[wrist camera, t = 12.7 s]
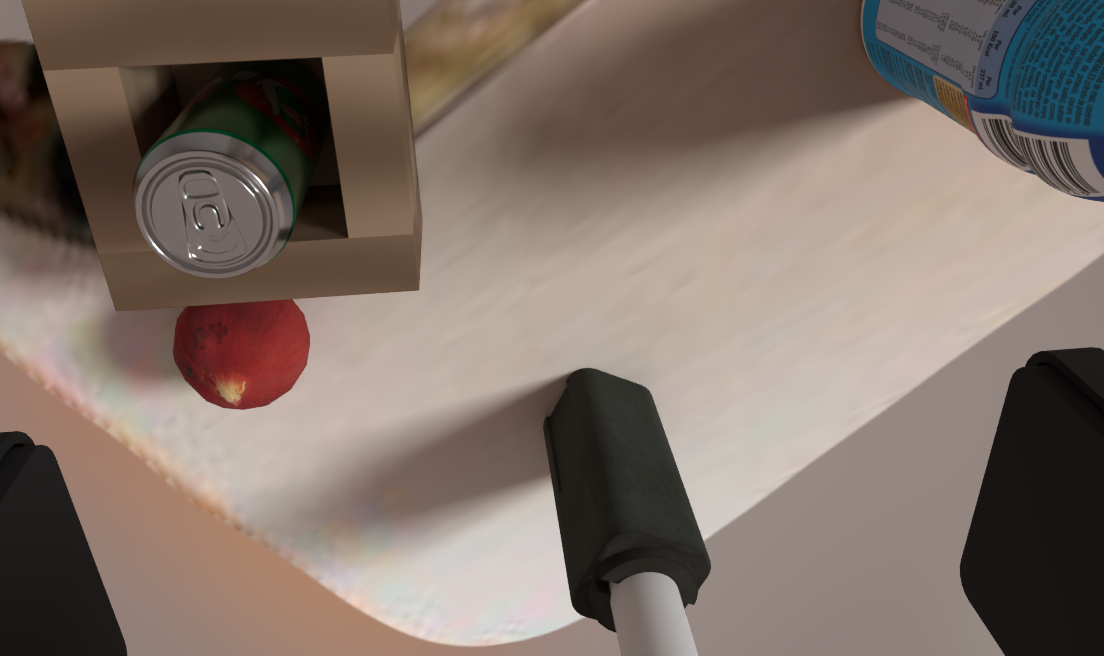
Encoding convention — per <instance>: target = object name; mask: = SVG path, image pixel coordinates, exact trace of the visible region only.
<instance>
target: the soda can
mask: <svg viewBox="0 0 1104 656" xmlns="http://www.w3.org/2000/svg"><path fill="white" fill-rule="evenodd" d="M329 126H330V109H329V103H328V100H327V97H326V94H325V92H324V90H323V88H322V86H321V85H320V83H319V82H318V80H317V79H316V78H315V77H314V75H313V74H312V73H311V72H310V71H309V70H308V69H306V68H305V67H304V66H303V65H302V64H300V63H298V62H297V61H295V60H294V59H274V60H253V61H233V62H226V63H225V64H223V65H222V66H221V67H220V68H219V69H218V70H217V71H216V73H215V74H214V75H213V76H212V77H211V78H210V80H209V81H208V82H207V83H206V84H205V85H204V86H203V88H202V89H201V90H200V91H199V92H198V93H197V95H196V96H195V97H194V98H193V99H192V100H191V102H190V103H189V104H188V105H187V106H186V107H185V108H184V110H183V111H182V112H181V113H180V114H179V115H178V117H177V118H176V119H175V120H174V121H173V122H172V123H171V125H170V126H169V127H168V128H167V129H166V130H165V132H164V133H163V134H162V135H161V136H160V137H159V139H158V140H157V141H156V142H155V143H154V144H153V145H152V147H151V148H150V149H149V150H148V151H147V153H146V154H145V155H144V157H143V158H142V159H141V161H140V163H139V165H138V167H137V169H136V173H135V176H134V180H133V189H132V194H133V204H134V208H135V212H136V218H137V222H138V225H139V228H140V230H141V233H142V235H143V237H144V238H145V240H146V241H147V243H148V245H149V246H150V247H151V248H152V249H153V251H154V252H155V253H156V254H157V255H158V256H159V257H161V258H162V259H163V260H164V261H165V262H167V263H168V264H170V265H171V266H173V267H174V268H176V269H178V270H180V271H182V272H185V273H187V274H190V275H193V276H197V277H202V278H209V279H225V278H231V277H236V276H239V275H242V274H245V273H247V272H249V271H252V270H255V269H258V268H260V267H262V266H263V265H265V264H267V263H269V262H270V261H271V260H272V259H274V258H275V257H276V256H277V255H278V254H279V253H280V252H281V251H282V250H283V249H284V247H285V246H286V244H287V242H288V241H289V239H290V237H291V234H292V232H293V229H294V226H295V224H296V221H297V218H298V215H299V212H300V210H301V207H302V204H303V201H304V199H305V196H306V193H307V190H308V187H309V185H310V182H311V179H312V176H313V174H314V171H315V168H316V165H317V162H318V160H319V157H320V154H321V151H322V149H323V146H324V143H325V140H326V137H327V135H328V132H329Z"/></svg>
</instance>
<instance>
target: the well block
mask: <svg viewBox="0 0 1104 656" xmlns="http://www.w3.org/2000/svg"><path fill="white" fill-rule="evenodd" d="M22 3H23V7H24V10H25V14H26V17H27V20H28V23H29V27H30V30H31V33H32V37H33V40H34V43H35V47H36V50H37V53H38V56H39V60H40V63H41V66H42V70H43V73H44V76H45V80H46V83H47V86H48V89H49V93H50V96H51V99H52V103H53V106H54V109H55V113H56V116H57V119H58V123H59V126H60V129H61V132H62V136H63V139H64V142H65V146H66V149H67V152H68V156H69V159H70V162H71V165H72V169H73V172H74V175H75V179H76V182H77V185H78V189H79V192H80V195H81V198H82V202H83V205H84V208H85V212H86V215H87V218H88V222H89V225H90V228H91V231H92V235H93V238H94V241H95V245H96V248H97V251H98V255H99V258H100V261H101V264H102V268H103V271H104V274H105V278H106V281H107V284H108V288H109V291H110V294H111V297H112V301H113V304H114V307H115V311H126V310H141V309H155V308H170V307H184V306H199V305H213V304H228V303H242V302H257V301H271V300H286V299H300V298H315V297H329V296H344V295H358V294H373V293H387V292H402V291H416V290H419V282H420V262H421V241H422V213H421V204H420V194H419V184H418V175H417V165H416V155H415V146H414V136H413V126H412V117H411V107H410V97H409V88H408V78H407V68H406V59H405V49H404V39H403V30H402V20H401V11H400V1H399V0H22ZM274 59H294V60H295V61H297V62H298V63H300V64H302V65H303V66H304V67H305V68H306V69H308V70H309V71H310V72H311V73H312V74H313V75H314V77H315V78H316V79H317V80H318V82H319V83H320V85H321V86H322V88H323V90H324V92H325V94H326V97H327V100H328V103H329V109H330V126H329V132H328V135H327V137H326V140H325V143H324V146H323V149H322V151H321V154H320V157H319V160H318V162H317V165H316V168H315V171H314V174H313V176H312V179H311V182H310V185H309V187H308V190H307V193H306V196H305V199H304V201H303V204H302V207H301V210H300V212H299V215H298V218H297V221H296V224H295V226H294V229H293V232H292V234H291V237H290V239H289V241H288V242H287V244H286V246H285V247H284V249H283V250H282V251H281V252H280V253H279V254H278V255H277V256H276V257H275V258H274V259H272V260H271V261H270V262H269V263H267V264H265V265H263V266H262V267H260V268H258V269H255V270H252V271H249V272H247V273H245V274H242V275H239V276H236V277H231V278H225V279H209V278H202V277H197V276H193V275H190V274H187V273H185V272H182V271H180V270H178V269H176V268H174V267H173V266H171V265H170V264H168V263H167V262H165V261H164V260H163V259H162V258H161V257H159V256H158V255H157V254H156V253H155V252H154V251H153V249H152V248H151V247H150V246H149V245H148V243H147V241H146V240H145V238H144V237H143V235H142V233H141V230H140V228H139V225H138V222H137V218H136V212H135V208H134V204H133V194H132V189H133V180H134V176H135V173H136V169H137V167H138V165H139V163H140V161H141V159H142V158H143V157H144V155H145V154H146V153H147V151H148V150H149V149H150V148H151V147H152V145H153V144H154V143H155V142H156V141H157V140H158V139H159V137H160V136H161V135H162V134H163V133H164V132H165V130H166V129H167V128H168V127H169V126H170V125H171V123H172V122H173V121H174V120H175V119H176V118H177V117H178V115H179V114H180V113H181V112H182V111H183V110H184V108H185V107H186V106H187V105H188V104H189V103H190V102H191V100H192V99H193V98H194V97H195V96H196V95H197V93H198V92H199V91H200V90H201V89H202V88H203V86H204V85H205V84H206V83H207V82H208V81H209V80H210V78H211V77H212V76H213V75H214V74H215V73H216V71H217V70H218V69H219V68H220V67H221V66H222V65H223V64H225V63H226V62H233V61H253V60H274Z"/></svg>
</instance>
